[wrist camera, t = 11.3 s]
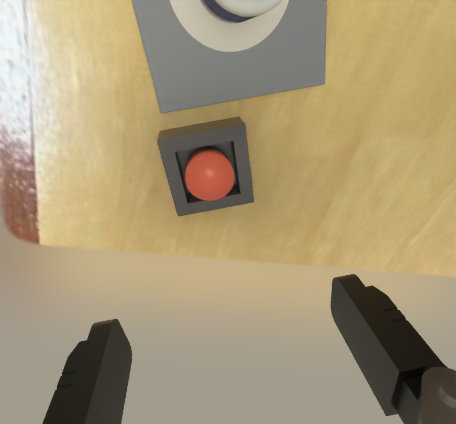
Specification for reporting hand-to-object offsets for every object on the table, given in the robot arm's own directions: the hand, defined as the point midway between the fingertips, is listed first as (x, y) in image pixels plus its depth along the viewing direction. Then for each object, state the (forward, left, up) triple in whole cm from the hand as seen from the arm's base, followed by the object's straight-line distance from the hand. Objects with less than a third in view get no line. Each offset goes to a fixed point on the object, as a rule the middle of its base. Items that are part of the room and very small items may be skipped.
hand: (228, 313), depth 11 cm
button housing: (0, +1, -18) cm, 18 cm away
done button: (0, +1, -16) cm, 16 cm away
